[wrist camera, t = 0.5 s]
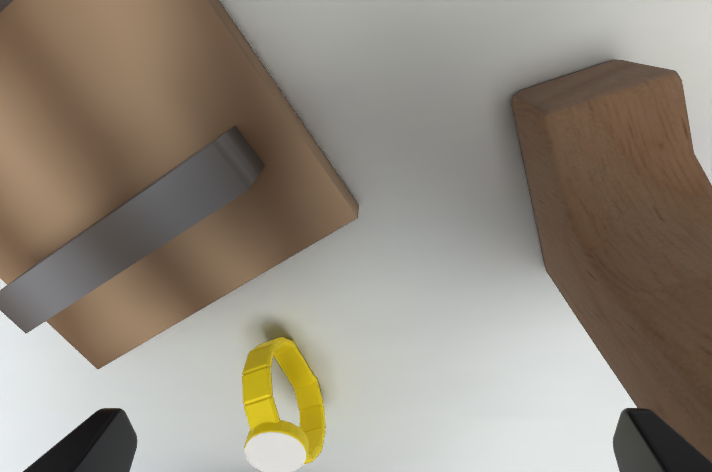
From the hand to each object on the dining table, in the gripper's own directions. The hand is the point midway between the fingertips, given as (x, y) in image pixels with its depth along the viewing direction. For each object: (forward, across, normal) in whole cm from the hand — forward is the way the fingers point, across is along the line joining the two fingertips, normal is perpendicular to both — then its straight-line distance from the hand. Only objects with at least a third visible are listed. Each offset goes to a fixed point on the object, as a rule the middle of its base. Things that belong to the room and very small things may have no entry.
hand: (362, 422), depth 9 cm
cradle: (+14, +13, -2) cm, 19 cm away
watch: (+13, +5, +12) cm, 18 cm away
